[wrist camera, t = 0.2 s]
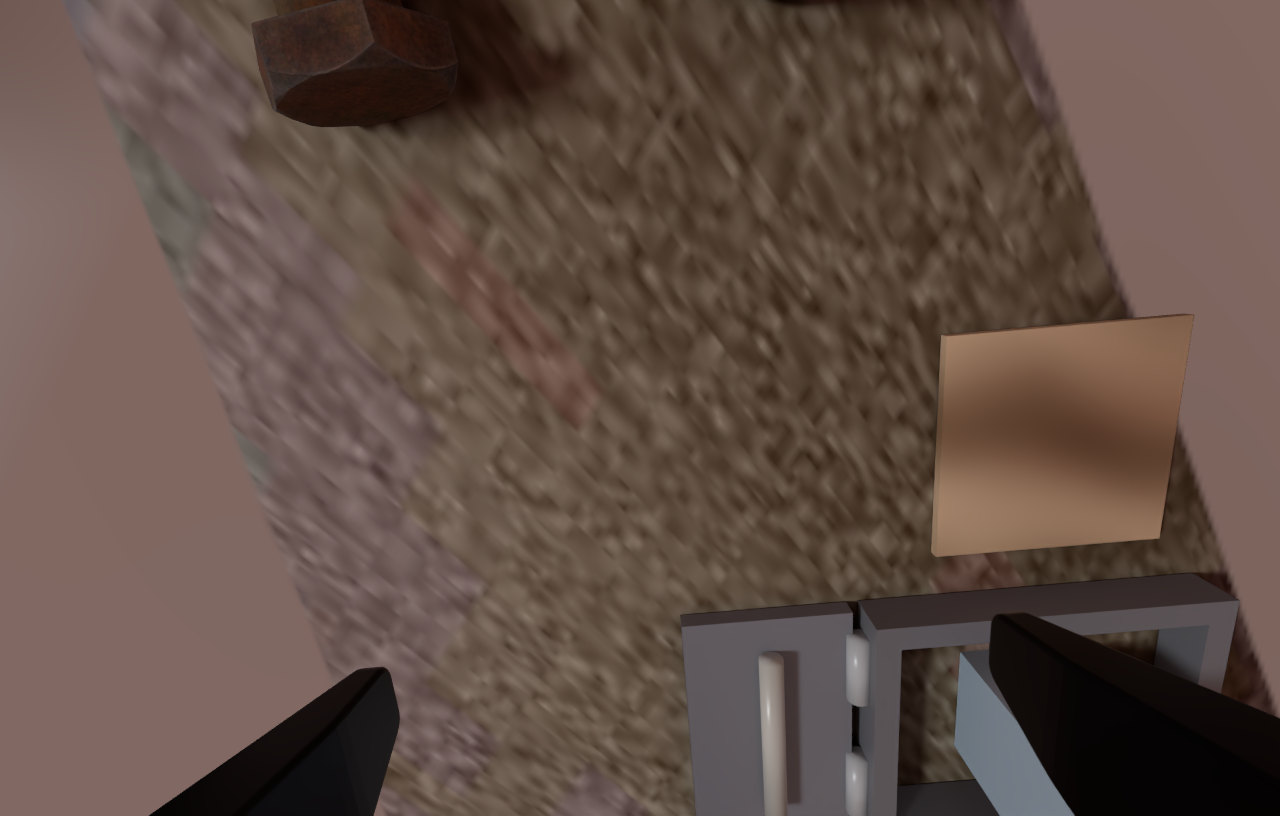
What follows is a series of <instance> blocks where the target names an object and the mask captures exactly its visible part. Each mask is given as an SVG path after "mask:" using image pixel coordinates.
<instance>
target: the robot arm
mask: <svg viewBox="0 0 1280 816" xmlns="http://www.w3.org/2000/svg"><path fill="white" fill-rule="evenodd" d="M989 668H990V672H991V675H992V678H993V680H994V682H995V683H996V685H997V687H998V689H999V690H1000V692H1001V694H1002V696H1003V698H1004V699H1005V701H1006V703H1007V705H1008V706H1009V708H1010V710H1011V712H1012V714H1013V715H1014V717H1015V719H1016V721H1017V722H1018V724H1019V726H1020V728H1021V729H1022V731H1023V733H1024V735H1025V737H1026V738H1027V740H1028V742H1029V744H1030V745H1031V747H1032V749H1033V751H1034V753H1035V754H1036V756H1037V758H1038V760H1039V761H1040V763H1041V765H1042V767H1043V768H1044V770H1045V772H1046V773H1047V775H1048V777H1049V778H1050V780H1051V782H1052V783H1053V785H1054V786H1055V788H1056V789H1057V791H1058V792H1059V794H1060V795H1061V797H1062V798H1063V800H1064V801H1065V803H1066V804H1067V805H1068V807H1069V808H1070V810H1071V811H1072V813H1073V814H1074V816H1280V718H1278V717H1275V716H1273V715H1271V714H1268V713H1266V712H1263V711H1261V710H1259V709H1256V708H1254V707H1251V706H1249V705H1247V704H1244V703H1242V702H1239V701H1237V700H1235V699H1232V698H1230V697H1228V696H1225V695H1223V694H1220V693H1218V692H1216V691H1213V690H1211V689H1208V688H1206V687H1204V686H1201V685H1199V684H1196V683H1194V682H1192V681H1189V680H1187V679H1184V678H1182V677H1180V676H1177V675H1175V674H1173V673H1170V672H1168V671H1165V670H1163V669H1161V668H1158V667H1156V666H1153V665H1151V664H1149V663H1146V662H1144V661H1141V660H1139V659H1137V658H1134V657H1132V656H1129V655H1127V654H1125V653H1122V652H1120V651H1118V650H1115V649H1113V648H1110V647H1108V646H1106V645H1103V644H1101V643H1098V642H1096V641H1094V640H1091V639H1089V638H1086V637H1084V636H1082V635H1079V634H1077V633H1075V632H1072V631H1070V630H1067V629H1065V628H1063V627H1060V626H1058V625H1055V624H1053V623H1051V622H1048V621H1046V620H1043V619H1041V618H1039V617H1036V616H1034V615H1031V614H1029V613H1026V612H1021V611H1019V612H1008V613H998V614H996V615H995V616H994V617H993V619H992V621H991V631H990V645H989ZM399 721H400V715H399V709H398V704H397V700H396V696H395V691H394V687H393V683H392V679H391V675H390V672H389V671H388V669H386V668H384V667H374V668H363V669H358V670H356V671H355V672H353V673H352V674H350V675H349V676H347V677H346V678H345V679H343V680H342V681H340V682H339V683H337V684H336V685H335V686H333V687H332V688H330V689H329V690H327V691H326V692H325V693H323V694H322V695H320V696H319V697H317V698H316V699H315V700H313V701H312V702H310V703H309V704H307V705H306V706H305V707H303V708H302V709H300V710H299V711H297V712H296V713H295V714H293V715H292V716H290V717H289V718H287V719H286V720H285V721H283V722H282V723H280V724H279V725H277V726H276V727H275V728H273V729H272V730H270V731H269V732H268V733H266V734H265V735H264V736H262V737H260V738H259V739H257V740H256V741H255V742H253V743H252V744H250V745H249V746H247V747H246V748H245V749H243V750H242V751H240V752H239V753H238V754H236V755H235V756H233V757H232V758H230V759H229V760H227V761H226V762H225V763H223V764H222V765H220V766H219V767H217V768H216V769H215V770H213V771H212V772H210V773H209V774H207V775H206V776H205V777H203V778H202V779H200V780H199V781H197V782H196V783H195V784H193V785H192V786H190V787H189V788H187V789H186V790H185V791H183V792H182V793H180V794H179V795H177V796H176V797H175V798H173V799H172V800H170V801H169V802H167V803H166V804H165V805H163V806H162V807H160V808H159V809H158V810H156V811H155V812H153V813H152V814H150V815H149V816H373V815H374V812H375V809H376V805H377V802H378V798H379V795H380V792H381V788H382V785H383V781H384V778H385V774H386V771H387V767H388V764H389V760H390V757H391V754H392V750H393V747H394V743H395V740H396V736H397V733H398V729H399Z"/></svg>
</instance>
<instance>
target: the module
mask: <svg viewBox="0 0 1280 816" xmlns="http://www.w3.org/2000/svg"><path fill="white" fill-rule="evenodd" d="M955 747H956V749H957V750H958V752H959V753H960V755H961V757H962V758H963V760H964V761H965V763H966V764H967V766H968V767H969V769H970V770H971V772H972V774H973V775H974V777H975V778H976V780H977V781H978V783H979V784H980V786H981V787H982V789H983V791H984V792H985V794H986V795H987V797H988V798H989V800H990V801H991V803H992V804H993V806H994V807H995V809H996V811H997V812H998V814H999V815H1000V816H1074V814H1073V813H1072V811H1071V810H1070V808H1069V807H1068V805H1067V804H1066V803H1065V801H1064V800H1063V798H1062V797H1061V795H1060V794H1059V792H1058V791H1057V789H1056V788H1055V786H1054V785H1053V783H1052V782H1051V780H1050V778H1049V777H1048V775H1047V773H1046V772H1045V770H1044V768H1043V767H1042V765H1041V763H1040V761H1039V760H1038V758H1037V756H1036V754H1035V753H1034V751H1033V749H1032V747H1031V745H1030V744H1029V742H1028V740H1027V738H1026V737H1025V735H1024V733H1023V731H1022V729H1021V728H1020V726H1019V724H1018V722H1017V721H1016V719H1015V717H1014V715H1013V714H1012V712H1011V710H1010V708H1009V706H1008V705H1007V703H1006V701H1005V699H1004V698H1003V696H1002V694H1001V692H1000V690H999V689H998V687H997V685H996V683H995V682H994V680H993V678H992V675H991V672H990V668H989V650H980V651H967V652H960V667H959V683H958V699H957V715H956V730H955Z"/></svg>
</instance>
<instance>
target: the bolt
mask: <svg viewBox="0 0 1280 816" xmlns="http://www.w3.org/2000/svg"><path fill="white" fill-rule="evenodd" d="M273 1H274V4H275V8H276V11H277V14H278V16H276V17H272V18H268V19H265V20H261V21H257V22H253V23H252V24H251V25H252V31H253V38H254V44H255V49H256V55H257V60H258V66H259V71H260V74H261V77H262V80H263V82H264V85H265V88H266V91H267V94H268V97H269V100H270V103H271V106H272V109H273V110H274V111H276V112H278V113H280V114H282V115H284V116H286V117H288V118H291V119H293V120H296V121H299V122H302V123H305V124H308V125H311V126H318V127H343V126H364V125H373V124H380V123H384V122H388V121H392V120H396V119H401V118H406V117H410V116H414V115H416V114H419V113H422V112H424V111H426V110H429V109H431V108H433V107H435V106H436V105H438V104H440V103H441V102H443V101H445V100H446V99H448V98H449V97H450V96H451V95H452V93H453V90H454V87H455V83H456V79H457V70H458V58H457V55H456V51H455V47H454V43H453V39H452V35H451V32H450V28H449V24H448V21H447V20H444V19H440V18H437V17H434V16H430V15H427V14H424V13H420V12H417V11H414V10H410V9H407V8H404V7H403V6H402V2H401V0H273Z"/></svg>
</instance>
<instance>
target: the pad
mask: <svg viewBox="0 0 1280 816" xmlns="http://www.w3.org/2000/svg"><path fill="white" fill-rule="evenodd" d="M1193 319H1194V315H1191V314H1176V315H1163V316H1153V317H1152V316H1151V317H1140V318H1128V319H1117V320H1105V321H1094V322H1083V323H1071V324H1060V325H1048V326H1037V327H1025V328H1014V329H1002V330H991V331H980V332H968V333H957V334H945V335H941V351H940V372H939V394H938V416H937V437H936V459H935V481H934V502H933V524H932V546H931V552H932V553H933V554H934V555H935V556H936V557H941V556H953V555H965V554H977V553H989V552H1001V551H1013V550H1025V549H1037V548H1049V547H1061V546H1073V545H1085V544H1097V543H1109V542H1121V541H1133V540H1145V539H1157V538H1159V537H1160V531H1161V524H1162V518H1163V512H1164V505H1165V499H1166V492H1167V486H1168V480H1169V473H1170V467H1171V460H1172V454H1173V448H1174V441H1175V435H1176V428H1177V422H1178V416H1179V409H1180V402H1181V396H1182V390H1183V384H1184V376H1185V371H1186V363H1187V358H1188V352H1189V345H1190V339H1191V332H1192V326H1193Z"/></svg>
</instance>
